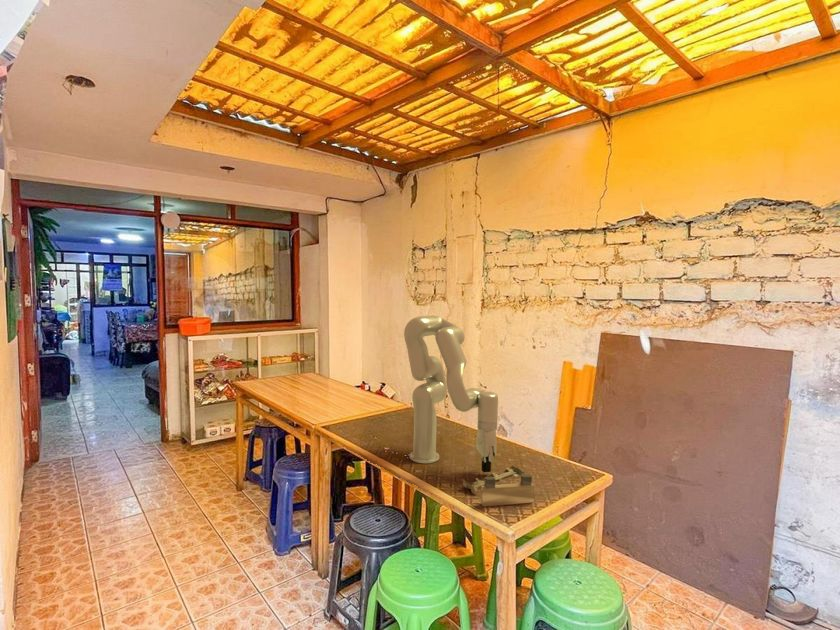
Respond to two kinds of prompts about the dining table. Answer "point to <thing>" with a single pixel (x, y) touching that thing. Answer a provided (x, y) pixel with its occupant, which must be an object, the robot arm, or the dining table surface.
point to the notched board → (507, 492)
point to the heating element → (498, 478)
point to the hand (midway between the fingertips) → (486, 471)
